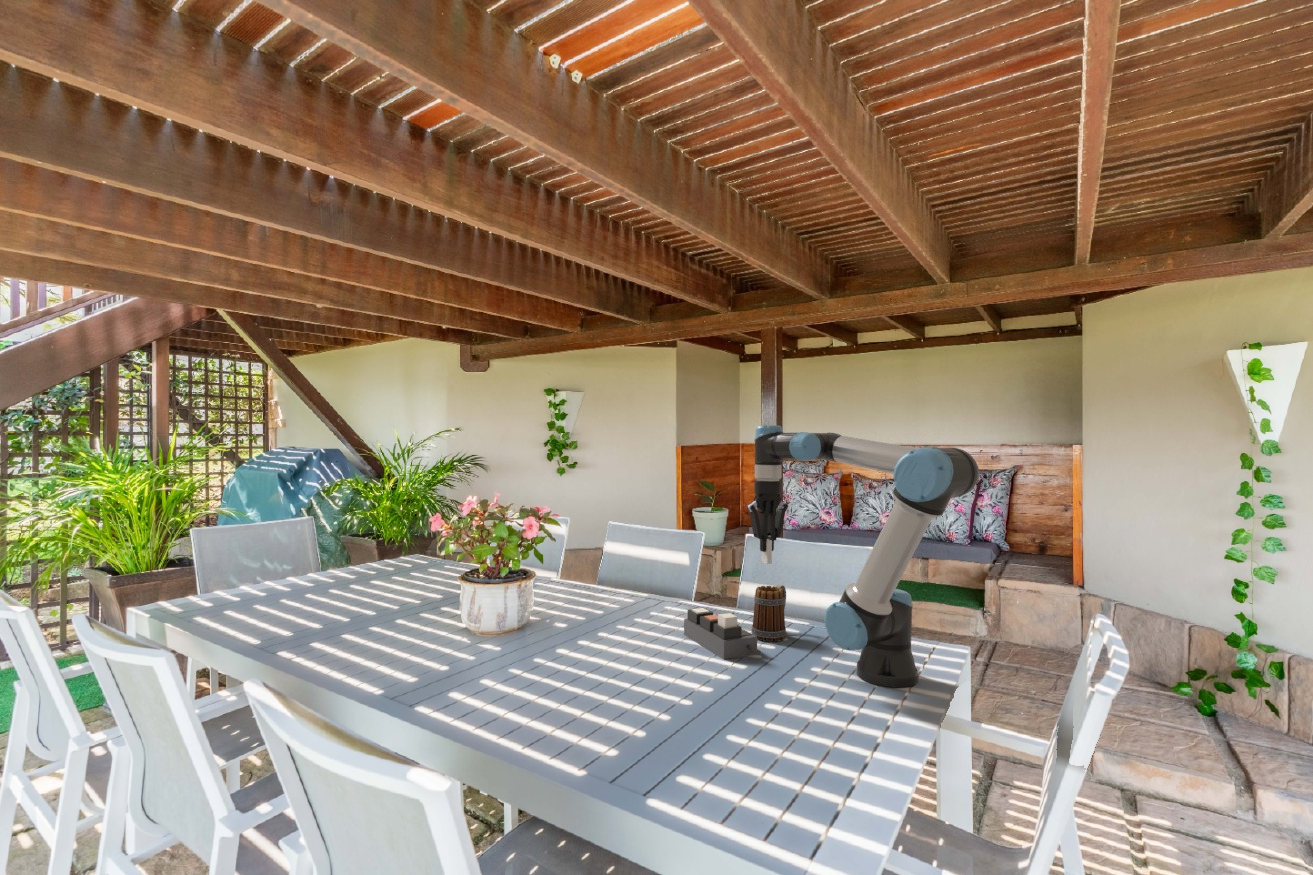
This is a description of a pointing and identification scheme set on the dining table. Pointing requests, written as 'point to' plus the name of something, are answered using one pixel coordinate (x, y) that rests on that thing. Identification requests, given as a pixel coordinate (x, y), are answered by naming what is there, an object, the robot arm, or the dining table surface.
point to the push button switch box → (719, 636)
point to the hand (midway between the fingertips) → (766, 562)
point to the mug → (769, 613)
